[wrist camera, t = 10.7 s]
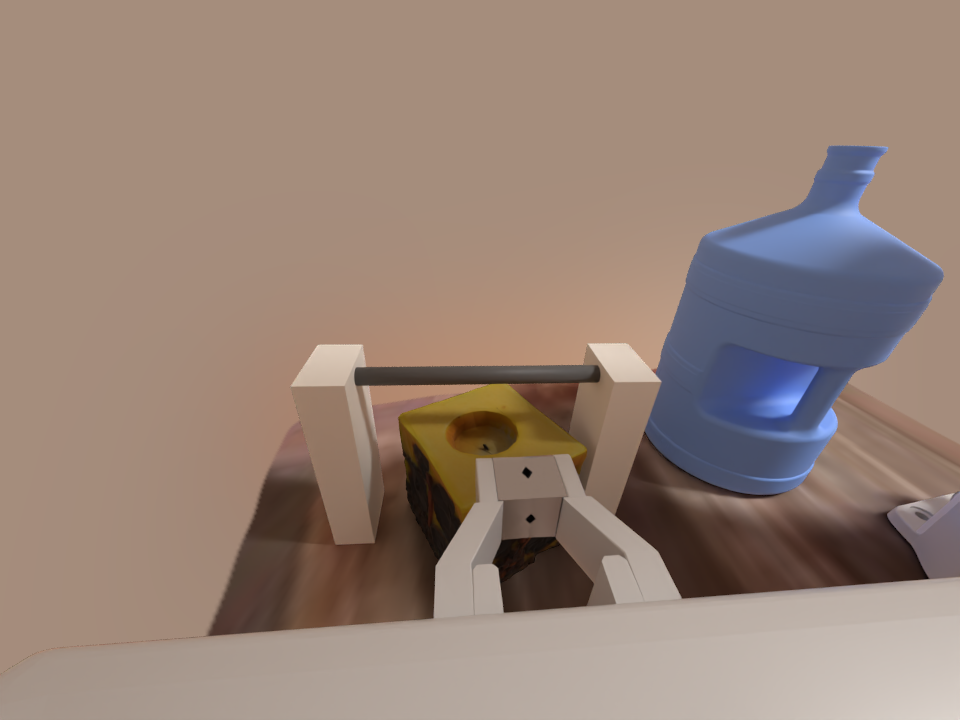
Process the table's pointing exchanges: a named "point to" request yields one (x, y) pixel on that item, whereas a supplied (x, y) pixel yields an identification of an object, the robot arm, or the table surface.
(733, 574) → the table surface
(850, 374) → the water jug
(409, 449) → the candle
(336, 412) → the frame
